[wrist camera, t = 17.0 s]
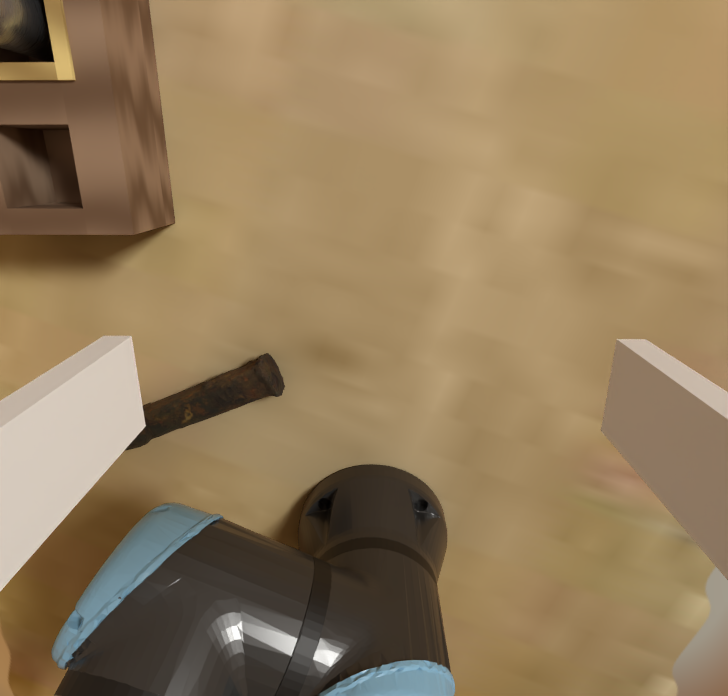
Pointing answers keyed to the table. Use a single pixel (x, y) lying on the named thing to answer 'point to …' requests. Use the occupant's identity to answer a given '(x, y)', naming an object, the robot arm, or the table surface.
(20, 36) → the peg
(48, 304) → the table surface
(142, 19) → the hole block
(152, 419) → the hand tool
